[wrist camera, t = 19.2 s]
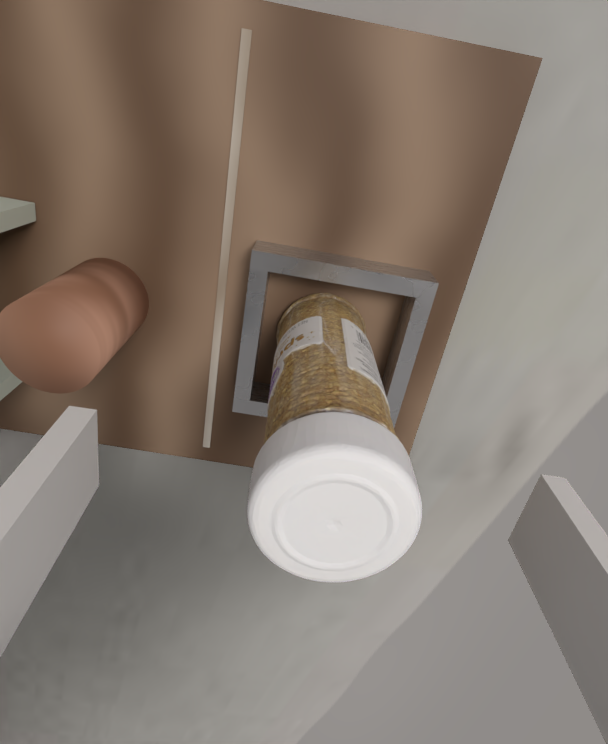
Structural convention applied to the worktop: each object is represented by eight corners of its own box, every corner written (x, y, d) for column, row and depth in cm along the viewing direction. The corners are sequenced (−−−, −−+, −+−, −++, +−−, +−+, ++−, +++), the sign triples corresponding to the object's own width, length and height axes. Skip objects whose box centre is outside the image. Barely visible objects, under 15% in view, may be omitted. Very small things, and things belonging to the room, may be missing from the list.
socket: (237, 392, 26) (232, 411, 24) (257, 240, 22) (252, 249, 21) (386, 416, 26) (391, 437, 25) (429, 271, 23) (439, 283, 21)
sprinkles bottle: (272, 293, 23) (234, 454, 11) (367, 288, 23) (431, 446, 11) (280, 378, 25) (254, 594, 13) (367, 373, 25) (422, 588, 13)
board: (-119, 393, 28) (-254, 475, 22) (-249, -98, 19) (-569, -223, 12) (393, 473, 30) (415, 572, 23) (527, 62, 20) (631, 31, 13)
